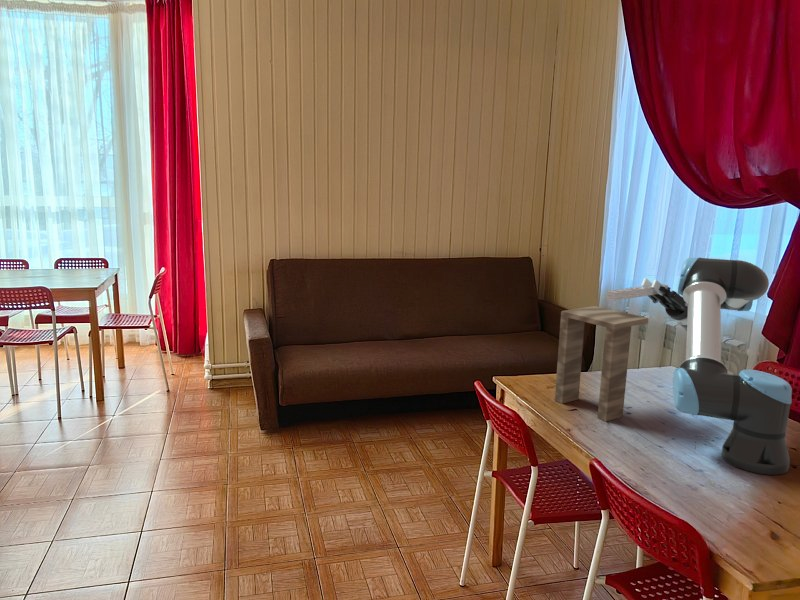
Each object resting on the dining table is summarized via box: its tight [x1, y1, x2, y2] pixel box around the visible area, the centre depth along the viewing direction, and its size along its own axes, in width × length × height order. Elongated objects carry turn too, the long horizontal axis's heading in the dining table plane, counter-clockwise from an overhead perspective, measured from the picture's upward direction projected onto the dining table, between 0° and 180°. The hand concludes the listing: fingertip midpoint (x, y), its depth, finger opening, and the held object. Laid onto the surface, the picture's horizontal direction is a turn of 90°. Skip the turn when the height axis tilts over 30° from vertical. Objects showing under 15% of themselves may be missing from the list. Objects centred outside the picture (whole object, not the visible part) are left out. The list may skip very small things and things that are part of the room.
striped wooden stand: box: [554, 305, 649, 422], centre depth 189 cm, size 20×16×30 cm
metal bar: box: [605, 283, 669, 302], centre depth 194 cm, size 3×28×2 cm, turn 124°
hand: (648, 282), depth 196 cm, fingers closed on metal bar, 3 cm apart
